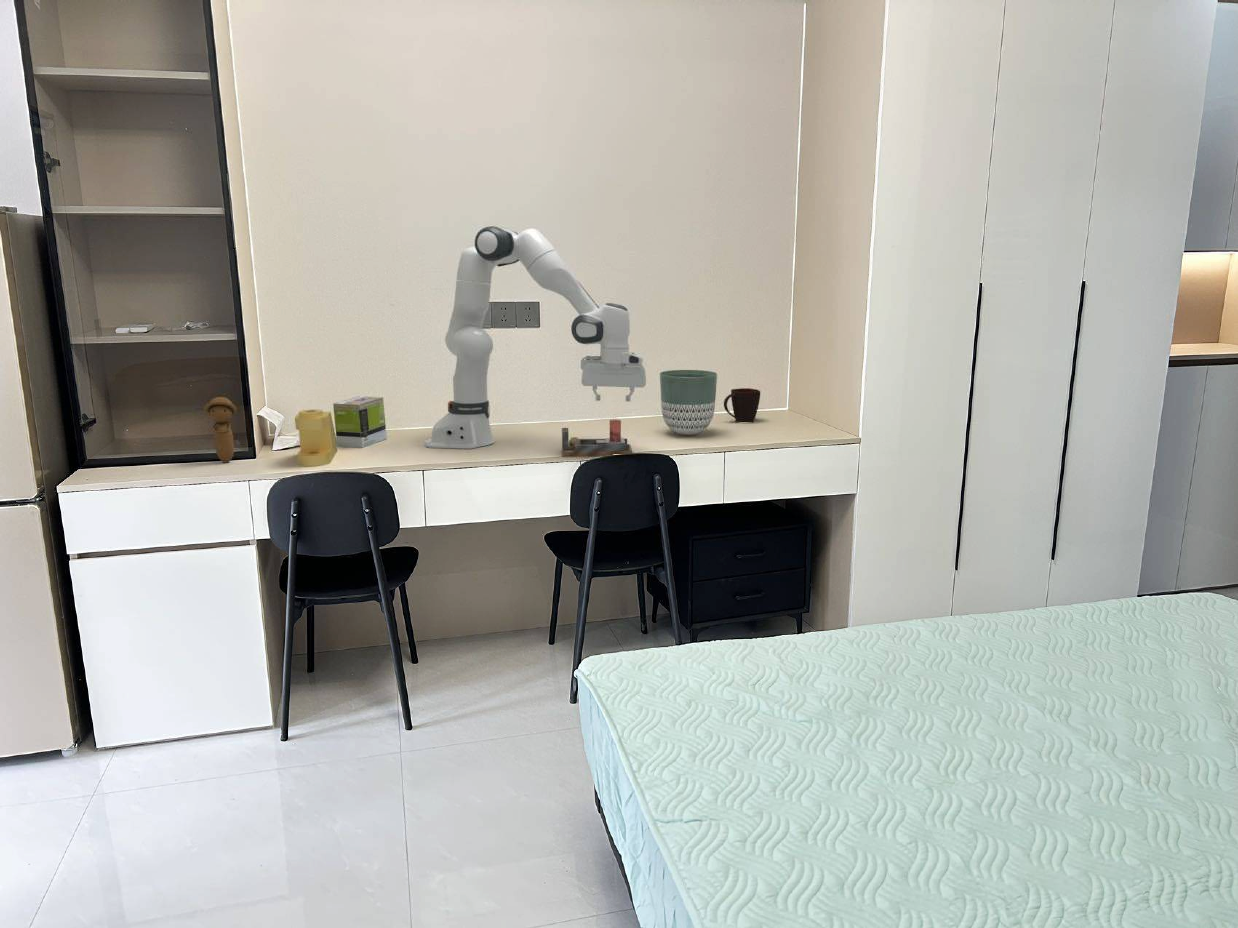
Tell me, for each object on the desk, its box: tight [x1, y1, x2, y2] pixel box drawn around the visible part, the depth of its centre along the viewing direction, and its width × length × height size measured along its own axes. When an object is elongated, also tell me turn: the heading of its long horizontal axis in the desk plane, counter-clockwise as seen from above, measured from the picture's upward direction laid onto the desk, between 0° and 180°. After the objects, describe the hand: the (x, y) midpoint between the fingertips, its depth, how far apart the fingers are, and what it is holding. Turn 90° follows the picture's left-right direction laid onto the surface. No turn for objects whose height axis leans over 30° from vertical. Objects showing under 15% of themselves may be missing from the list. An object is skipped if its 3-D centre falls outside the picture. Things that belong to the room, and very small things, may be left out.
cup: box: [723, 387, 761, 423], centre depth 330 cm, size 10×14×12 cm
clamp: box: [294, 408, 338, 468], centre depth 270 cm, size 20×9×16 cm, turn 10°
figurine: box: [203, 396, 238, 463], centre depth 265 cm, size 9×7×20 cm
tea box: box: [332, 396, 387, 449], centre depth 293 cm, size 15×10×15 cm
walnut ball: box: [569, 436, 580, 446], centre depth 279 cm, size 4×4×4 cm
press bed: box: [561, 427, 634, 458], centre depth 280 cm, size 22×10×8 cm, turn 94°
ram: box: [596, 418, 625, 445], centre depth 279 cm, size 9×7×9 cm
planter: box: [659, 369, 718, 436], centre depth 307 cm, size 20×20×21 cm
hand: (612, 400), depth 276 cm, fingers open, 8 cm apart
